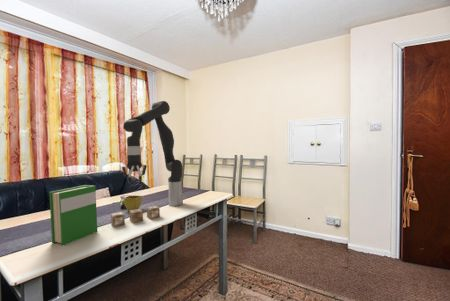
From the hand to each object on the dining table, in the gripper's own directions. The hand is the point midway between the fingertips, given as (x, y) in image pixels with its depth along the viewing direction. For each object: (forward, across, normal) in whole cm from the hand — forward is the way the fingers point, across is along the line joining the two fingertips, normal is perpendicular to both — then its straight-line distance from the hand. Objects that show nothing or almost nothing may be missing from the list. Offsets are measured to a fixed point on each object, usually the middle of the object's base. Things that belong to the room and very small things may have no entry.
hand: (135, 182), depth 133 cm
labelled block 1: (+22, +10, 0) cm, 25 cm away
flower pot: (+23, -4, -24) cm, 33 cm away
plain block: (+22, 0, 0) cm, 22 cm away
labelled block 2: (+22, -10, 0) cm, 25 cm away
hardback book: (+23, +30, +6) cm, 38 cm away
